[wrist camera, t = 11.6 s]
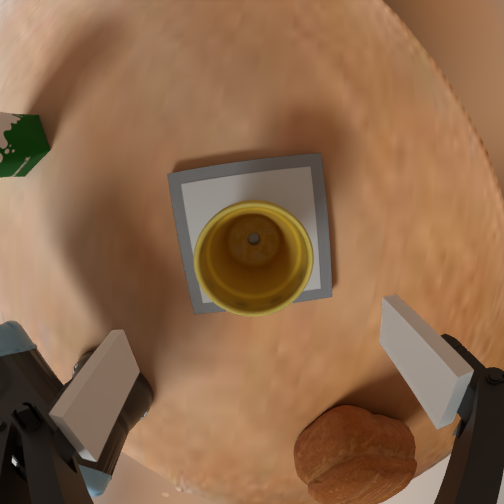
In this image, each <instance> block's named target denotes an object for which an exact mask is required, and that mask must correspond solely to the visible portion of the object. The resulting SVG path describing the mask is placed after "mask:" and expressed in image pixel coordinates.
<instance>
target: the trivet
mask: <svg viewBox="0 0 504 504" xmlns="http://www.w3.org/2000/svg"><path fill="white" fill-rule="evenodd" d="M167 175H168V181H169V188H170V194H171V201H172V207H173V213H174V218H175V224H176V230H177V235H178V240H179V245H180V251H181V256H182V261H183V265H184V270H185V275H186V280H187V284H188V289H189V293H190V298H191V302H192V306H193V311H194V314H201V313H212V312H222V311H226V310H224V309H222V308H221V307H219V306H218V305H216V304H215V303H214V302H213V301H212V300H210V299H209V297H208V296H207V295H206V294H205V293H204V291H203V290H202V288H201V287H200V285H199V282H198V280H197V277H196V274H195V270H194V249H195V245H196V242H197V239H198V236H199V234H200V232H201V231H202V229H203V228H204V226H205V225H206V224H207V222H208V221H209V220H210V219H211V218H212V217H213V216H214V215H215V214H217V213H218V212H219V211H220V210H222V209H223V208H225V207H227V206H229V205H231V204H234V203H236V202H240V201H245V200H264V201H268V202H272V203H274V204H277V205H279V206H281V207H283V208H285V209H286V210H288V211H289V212H290V213H292V214H293V215H294V216H295V217H296V218H297V219H298V220H299V221H300V222H301V223H302V225H303V226H304V228H305V229H306V231H307V233H308V235H309V237H310V240H311V243H312V247H313V253H314V264H313V270H312V273H311V277H310V279H309V281H308V283H307V285H306V287H305V289H304V290H303V292H302V293H301V294H300V295H299V296H298V298H296V299H295V300H294V301H293V302H292V303H296V302H303V301H309V300H316V299H323V298H329V297H332V276H331V255H330V239H329V225H328V213H327V202H326V191H325V182H324V173H323V164H322V156H321V153H314V154H302V155H291V156H281V157H272V158H263V159H255V160H247V161H240V162H233V163H226V164H220V165H213V166H207V167H201V168H196V169H190V170H185V171H179V172H174V173H169V174H167ZM248 240H249V242H250V243H252V244H255V243H257V242H258V241H259V236H258V235H257V234H255V233H253V234H251V235H250V236H249V238H248Z"/></svg>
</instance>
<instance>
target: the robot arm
mask: <svg viewBox="0 0 504 504" xmlns="http://www.w3.org/2000/svg"><path fill="white" fill-rule="evenodd" d="M379 343H380V344H381V346H382V347H383V349H384V350H385V352H386V353H387V354H388V356H389V357H390V359H391V360H392V362H393V363H394V365H395V366H396V368H397V369H398V370H399V372H400V373H401V375H402V376H403V378H404V379H405V381H406V382H407V384H408V385H409V387H410V388H411V390H412V391H413V393H414V394H415V396H416V398H417V399H418V401H419V402H420V404H421V405H422V407H423V408H424V410H425V412H426V413H427V415H428V416H429V418H430V419H431V421H432V423H433V424H434V426H435V428H436V429H440V428H442V427H444V426H446V425H448V424H450V423H452V422H453V420H454V418H455V416H456V414H457V413H458V414H459V416H460V417H461V420H460V422H459V424H458V426H457V427H456V429H455V431H454V433H453V435H454V436H455V435H456V438H455V442H454V446H453V449H452V453H451V457H450V460H449V463H448V467H447V470H446V473H445V476H444V479H443V482H442V484H441V487H440V490H439V493H438V495H437V498H436V500H435V503H434V504H496V503H497V499H498V495H499V490H500V486H501V481H502V476H503V470H504V371H503V370H501V369H499V368H495V367H491V368H487V369H486V368H485V367H484V366H483V365H482V364H481V363H480V362H479V361H478V360H477V359H476V358H475V357H474V356H473V355H472V354H471V353H470V352H469V351H467V349H466V348H465V347H464V346H462V344H461V343H460V342H459V341H458V340H457V339H456V338H454V337H452V336H449V335H447V334H444V335H441V336H440V335H439V334H438V333H437V332H436V331H435V330H434V329H433V328H432V327H431V326H430V325H429V324H428V323H427V322H425V321H424V320H423V319H422V318H421V317H420V316H419V315H418V314H417V313H416V312H415V311H414V310H413V309H412V308H411V307H409V306H408V305H407V304H406V303H405V302H404V301H403V300H402V299H401V298H400V297H398V296H397V295H396V294H394V295H389V296H385V297H383V300H382V317H381V331H380V342H379ZM152 399H153V396H152V391H151V388H150V386H149V384H148V382H147V381H146V379H145V378H144V377H143V375H142V374H141V373H140V370H139V367H138V365H137V363H136V360H135V358H134V355H133V353H132V350H131V348H130V345H129V342H128V340H127V337H126V334H125V332H124V329H123V330H111V332H110V333H109V334H108V335H107V337H106V338H105V339H104V340H103V342H102V343H101V344H100V345H99V347H98V348H97V349H96V350H95V351H91V352H88V353H86V354H84V355H83V356H82V357H81V358H80V359H79V361H78V362H77V363H76V365H75V366H74V369H73V377H72V379H71V380H70V381H68V382H67V383H66V384H65V385H63V384H62V383H61V381H60V380H59V379H58V378H57V376H56V375H55V374H54V372H53V371H52V370H51V368H50V367H49V365H48V364H47V363H46V361H45V360H44V358H43V357H42V355H41V354H40V352H39V351H38V349H37V345H36V344H34V343H33V342H32V340H31V339H30V338H29V336H28V335H27V333H26V332H25V330H24V329H23V327H22V326H21V325H20V324H19V323H17V322H15V321H7V322H5V323H3V324H1V325H0V504H94V503H93V501H92V499H91V497H97V496H100V495H102V494H103V493H104V491H105V489H106V487H107V485H108V483H109V481H110V480H111V479H112V474H113V471H114V469H115V466H116V463H117V461H118V458H119V455H120V453H121V450H122V448H123V445H124V442H125V440H126V437H127V435H128V433H129V431H130V430H131V429H132V428H133V427H134V426H135V425H136V423H137V422H138V421H139V420H141V419H142V418H144V417H145V416H146V414H147V413H148V411H149V409H150V406H151V404H152ZM12 457H13V458H14V459H15V461H16V462H17V465H16V466H15V465H14V464H13V463H12Z"/></svg>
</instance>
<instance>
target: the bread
mask: <svg viewBox="0 0 504 504" xmlns="http://www.w3.org/2000/svg"><path fill="white" fill-rule="evenodd" d="M415 448H416V446H415V441H414V436H413V435H412V433H411V431H410V429H409V427H408V426H407V425H406V424H404V423H403V422H401V421H400V420H397V419H392V418H389V417H386V416H384V415H379V414H372V413H370V412H369V411H368V410H366V409H365V408H360V407H356V406H352V405H343V406H338V407H335V408H333V409H331V410H329V411H328V412H326V413H325V414H323V415H322V416H320V417H319V418H318V419H317V420H316V421H315V422H314V423H313V424H312V425H310V426H309V427H308V428H307V429H305V430H304V431H303V433H302V434H301V435H300V436H299V437H298V439H297V441H296V443H295V446H294V460H295V468H296V471H297V475H298V477H299V478H300V479H301V480H302V481H303V482H304V483H305V484H306V485H308V492H309V494H310V496H311V497H312V498H313V499H315V500H316V501H318V502H319V503H322V504H378V503H381V502H384V501H386V500H387V499H389V498H391V497H392V496H394V495H396V494H397V493H399V492H400V491H402V490H403V489H404V488H405V487H406V486H407V485H408V484H409V483H410V481H411V480H412V478H413V476H414V474H415V471H416V467H417V462H416V460H415V459H414V456H415Z"/></svg>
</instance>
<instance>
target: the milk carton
mask: <svg viewBox="0 0 504 504" xmlns="http://www.w3.org/2000/svg"><path fill="white" fill-rule="evenodd" d="M49 151H50V148H49V145H48V142H47V140H46V137H45V134H44V131H43V128H42V125H41V122H40V118H39V115H26V114H11V113H4V112H0V178H1V177H22V176H26V175H27V174H28V172H29V171H30V170H31V169H32V168H33V167H34V166H35V165H36V164H37V163H38V162H39V161H40V160H41V159H42V158H43V157H44V156H45V155H46V154H47V153H48V152H49Z"/></svg>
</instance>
